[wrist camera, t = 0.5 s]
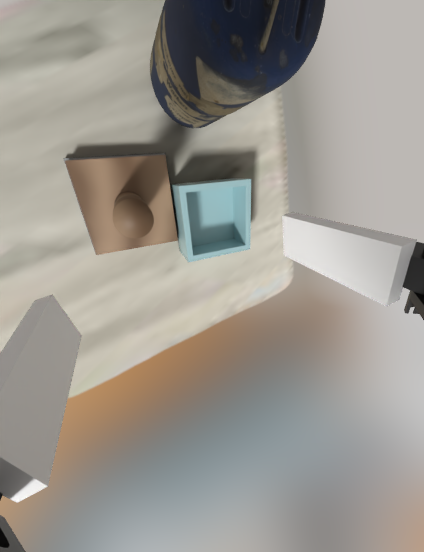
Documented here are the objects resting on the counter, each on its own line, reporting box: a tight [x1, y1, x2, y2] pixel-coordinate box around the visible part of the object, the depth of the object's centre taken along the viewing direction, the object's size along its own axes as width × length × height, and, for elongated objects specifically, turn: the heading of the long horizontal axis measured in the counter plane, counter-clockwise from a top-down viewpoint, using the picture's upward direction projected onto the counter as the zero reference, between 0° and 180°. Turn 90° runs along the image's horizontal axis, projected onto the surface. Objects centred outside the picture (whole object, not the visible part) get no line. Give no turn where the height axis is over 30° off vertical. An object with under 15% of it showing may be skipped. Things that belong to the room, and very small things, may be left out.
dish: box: [170, 178, 251, 262], centre depth 32 cm, size 10×10×5 cm
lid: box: [65, 155, 178, 255], centre depth 24 cm, size 11×11×10 cm
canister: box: [150, 0, 325, 128], centre depth 19 cm, size 10×10×18 cm
